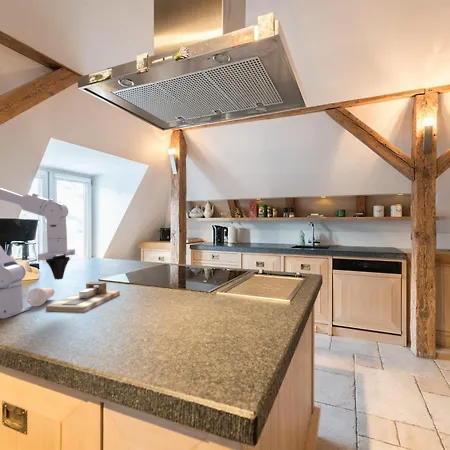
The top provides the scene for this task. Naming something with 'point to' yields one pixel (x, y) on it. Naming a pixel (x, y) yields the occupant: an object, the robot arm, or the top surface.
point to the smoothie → (39, 296)
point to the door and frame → (84, 300)
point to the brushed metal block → (89, 292)
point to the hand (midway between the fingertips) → (58, 279)
